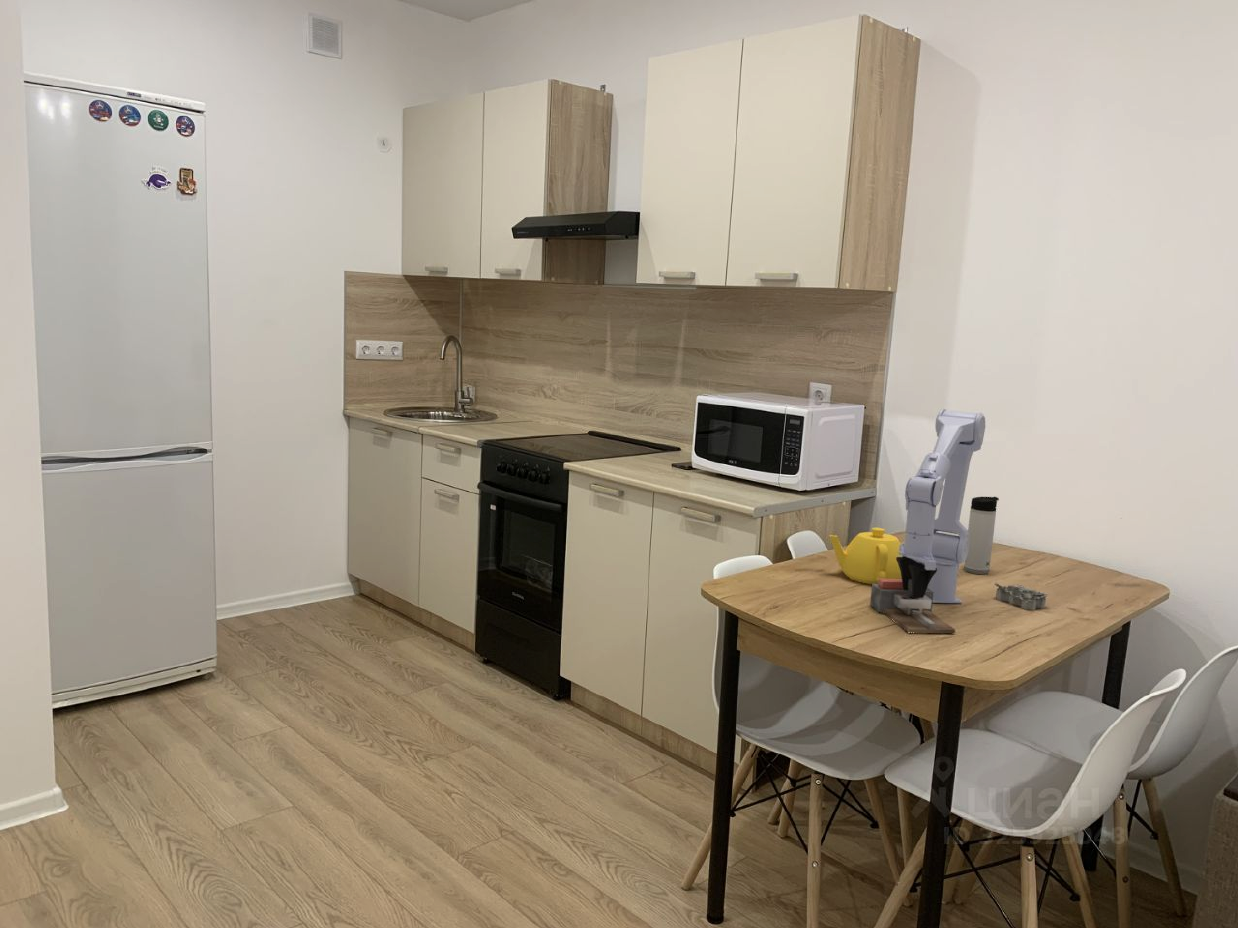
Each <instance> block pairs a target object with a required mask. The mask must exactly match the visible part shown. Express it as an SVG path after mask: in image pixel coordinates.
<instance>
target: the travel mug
mask: <svg viewBox="0 0 1238 928" xmlns="http://www.w3.org/2000/svg"><path fill="white" fill-rule="evenodd" d="M999 500H1000V499H999V497H998V496H976V497H972V498H971V505H970V511H969V519H968V520H969V521H968V527H967V528H968V529H967V530H968V532H969V535H970V536H969V551H968V555H967V558H966V560H965V561H964V566H963V570H964V571H965V572H967V573H969V574H975V575H987V574H989V573H990V567H991V559H992V551H993V541H994V532H995V526H996V515H997V504H998V501H999Z"/></svg>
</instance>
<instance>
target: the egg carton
mask: <svg viewBox="0 0 1238 928" xmlns="http://www.w3.org/2000/svg"><path fill="white" fill-rule="evenodd" d="M994 586H996V593H995V598H996V600H997V601H1001V602H1007V603H1008V604H1009V605H1012V606H1019V607H1020V608H1021V609H1023V610H1029V611H1030V610H1031V611H1035V610H1036V609H1045V608H1046V602H1047V601H1046V598H1047V597H1048V596H1049V595H1050V593H1045V592H1042V593H1041V592H1040V591H1037V589H1030V588H1027V587H1025V586H1024V585H1022V584H1015V585H1008V586H1005V585H1004V586H1003V585H1001V584H1000V583H997V582H995V583H994Z"/></svg>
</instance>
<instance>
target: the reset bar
mask: <svg viewBox="0 0 1238 928" xmlns="http://www.w3.org/2000/svg"><path fill="white" fill-rule="evenodd" d="M878 585H879V586H880V587H881V588H893V589H903V585H902V579H879V581H878Z"/></svg>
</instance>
